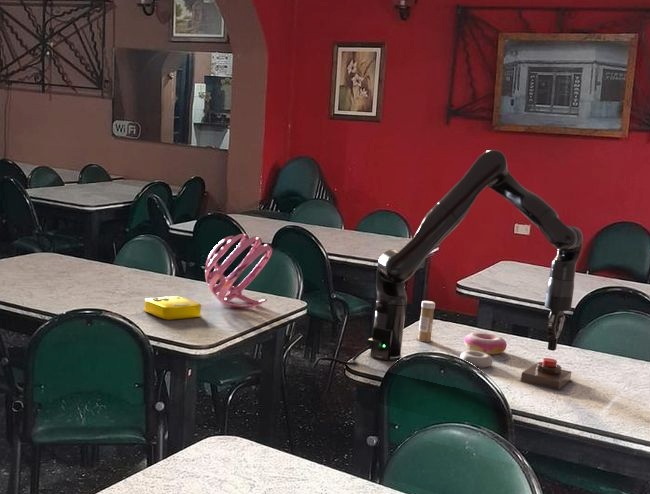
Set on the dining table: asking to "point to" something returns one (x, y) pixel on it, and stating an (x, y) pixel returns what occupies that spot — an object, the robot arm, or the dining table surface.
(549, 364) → the light button
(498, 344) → the donut
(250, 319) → the dining table surface
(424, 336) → the sprinkles bottle
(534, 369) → the switch block
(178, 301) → the element tile
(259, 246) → the spiral basket
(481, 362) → the donut
